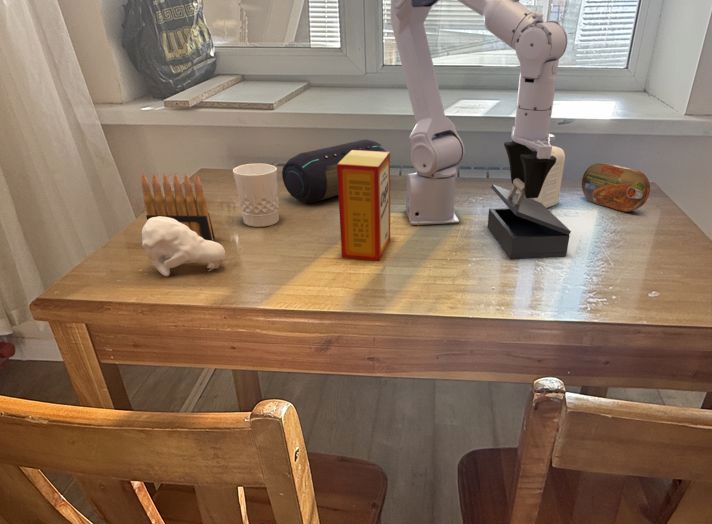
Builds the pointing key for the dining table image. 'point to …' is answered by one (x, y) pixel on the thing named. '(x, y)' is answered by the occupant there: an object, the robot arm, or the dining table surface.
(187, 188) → the ammunition clip
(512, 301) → the dining table surface
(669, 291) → the dining table surface
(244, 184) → the white cup
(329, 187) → the portable speaker
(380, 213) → the baking soda box
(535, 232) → the flip case
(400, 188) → the dining table surface
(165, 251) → the white figurine
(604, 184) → the tin
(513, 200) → the cover
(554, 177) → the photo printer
